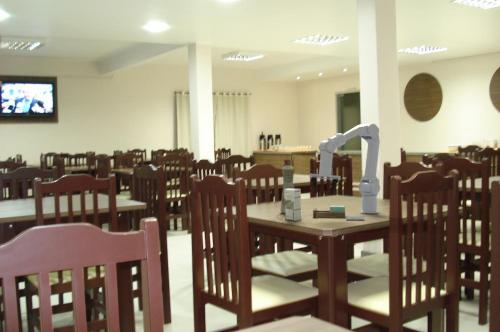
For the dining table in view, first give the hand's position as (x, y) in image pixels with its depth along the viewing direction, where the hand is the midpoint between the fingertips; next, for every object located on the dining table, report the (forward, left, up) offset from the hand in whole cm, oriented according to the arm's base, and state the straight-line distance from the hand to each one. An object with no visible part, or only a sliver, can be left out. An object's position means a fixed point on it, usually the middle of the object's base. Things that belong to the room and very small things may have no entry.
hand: (323, 194), depth 255 cm
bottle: (-15, -18, -11) cm, 26 cm away
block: (-4, +6, -11) cm, 13 cm away
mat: (+5, +14, -11) cm, 19 cm away
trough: (-4, +2, -11) cm, 12 cm away
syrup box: (+7, -14, -11) cm, 19 cm away
